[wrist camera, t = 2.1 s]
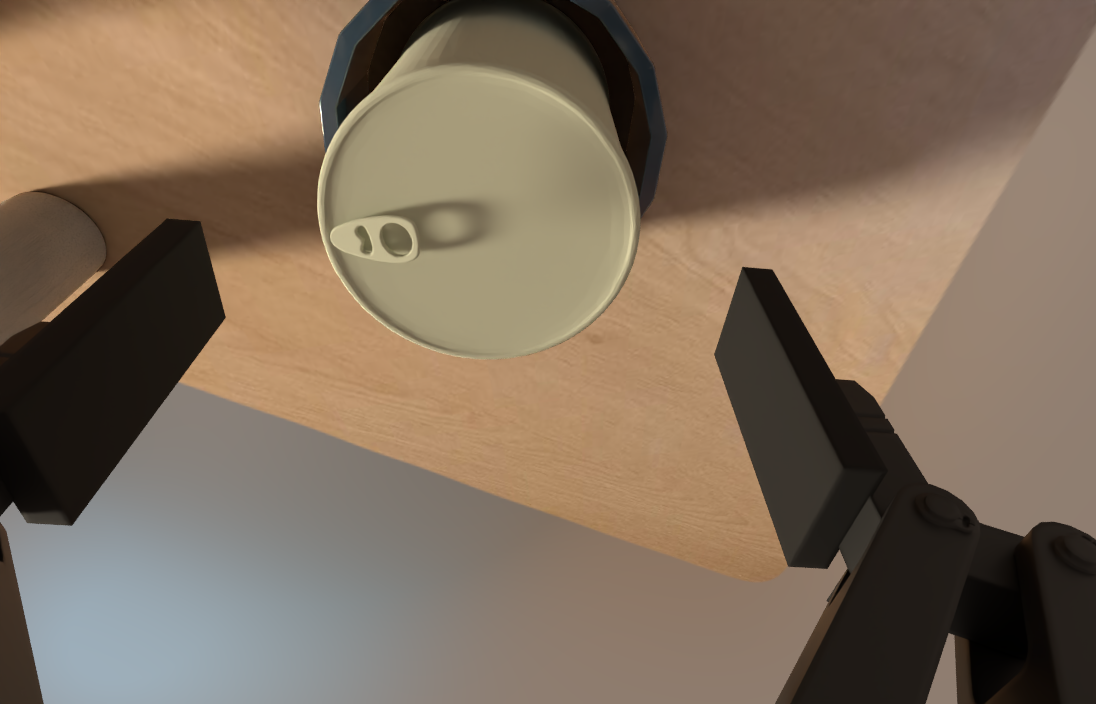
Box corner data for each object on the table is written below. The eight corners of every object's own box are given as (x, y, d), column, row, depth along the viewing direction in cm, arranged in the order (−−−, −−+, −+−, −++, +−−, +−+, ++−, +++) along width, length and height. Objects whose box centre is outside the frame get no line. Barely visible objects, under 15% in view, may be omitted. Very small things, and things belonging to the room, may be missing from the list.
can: (373, -6, 24) (261, 73, 15) (611, -16, 24) (656, 56, 14) (413, 215, 30) (352, 376, 20) (607, 208, 30) (637, 367, 20)
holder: (294, 92, 26) (250, 131, 22) (514, -148, 22) (507, -153, 18) (493, 286, 32) (486, 344, 28) (701, 130, 27) (728, 174, 23)
